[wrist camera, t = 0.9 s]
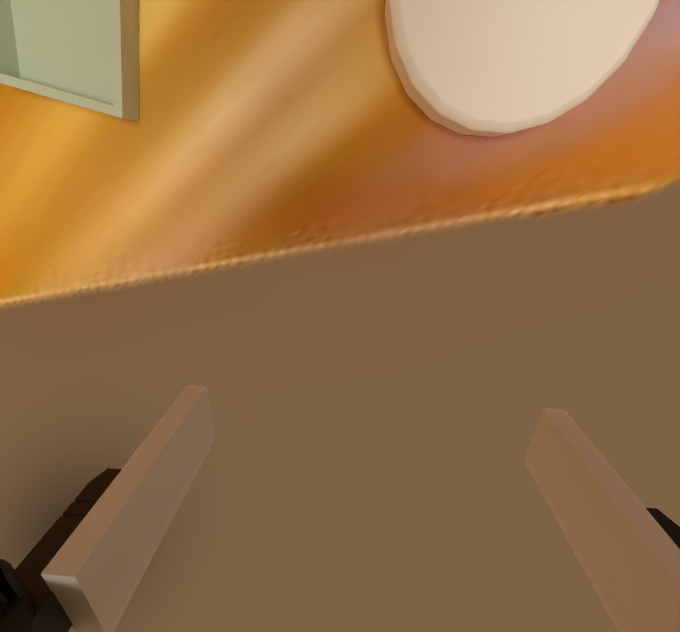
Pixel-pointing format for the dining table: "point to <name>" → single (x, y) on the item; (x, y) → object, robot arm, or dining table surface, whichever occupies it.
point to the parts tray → (73, 52)
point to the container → (508, 56)
